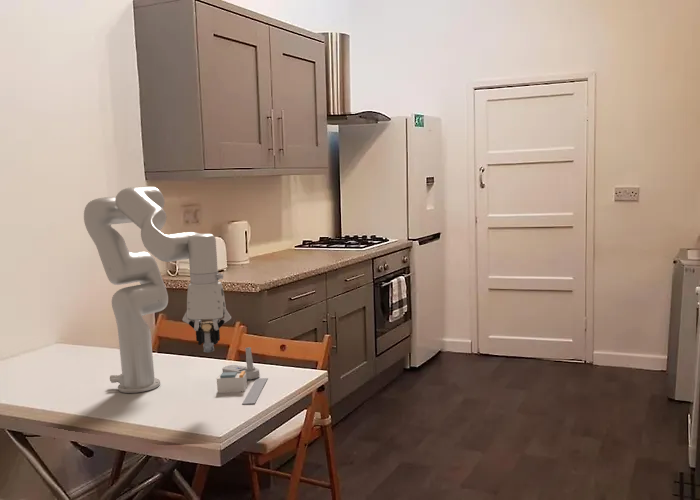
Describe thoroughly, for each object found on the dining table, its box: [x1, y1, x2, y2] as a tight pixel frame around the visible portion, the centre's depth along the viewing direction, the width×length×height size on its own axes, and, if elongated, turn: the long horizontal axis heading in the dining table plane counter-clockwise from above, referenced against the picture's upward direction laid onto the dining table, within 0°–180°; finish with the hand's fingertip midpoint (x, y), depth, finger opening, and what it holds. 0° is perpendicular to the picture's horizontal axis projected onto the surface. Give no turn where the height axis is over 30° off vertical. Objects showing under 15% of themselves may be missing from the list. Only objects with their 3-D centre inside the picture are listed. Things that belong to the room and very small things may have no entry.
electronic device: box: [222, 346, 261, 380], centre depth 222 cm, size 5×10×15 cm
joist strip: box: [241, 377, 268, 406], centre depth 205 cm, size 4×24×1 cm, turn 178°
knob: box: [201, 321, 215, 353], centre depth 194 cm, size 4×4×8 cm
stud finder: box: [216, 371, 248, 394], centre depth 208 cm, size 8×4×5 cm, turn 88°
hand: (208, 342), depth 194 cm, fingers closed on knob, 3 cm apart
